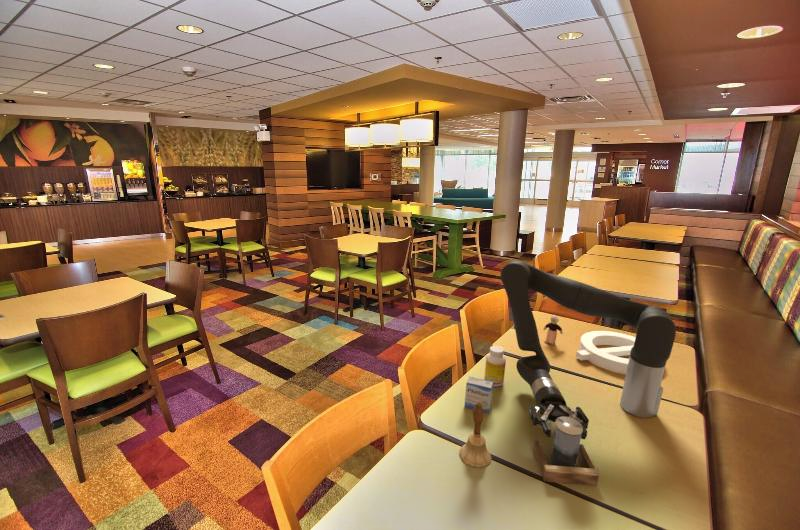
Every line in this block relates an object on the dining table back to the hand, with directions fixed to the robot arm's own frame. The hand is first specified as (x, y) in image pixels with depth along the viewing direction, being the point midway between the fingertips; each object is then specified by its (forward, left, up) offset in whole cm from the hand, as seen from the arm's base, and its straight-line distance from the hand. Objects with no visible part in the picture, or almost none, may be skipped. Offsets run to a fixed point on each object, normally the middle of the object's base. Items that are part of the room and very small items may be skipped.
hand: (567, 435), depth 94 cm
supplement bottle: (+12, -35, -9) cm, 38 cm away
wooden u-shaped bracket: (0, +1, -8) cm, 8 cm away
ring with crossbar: (-40, -59, -9) cm, 72 cm away
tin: (0, +1, -8) cm, 8 cm away
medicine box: (+19, -21, -9) cm, 30 cm away
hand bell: (+22, 0, -9) cm, 24 cm away
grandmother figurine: (-17, -67, -9) cm, 70 cm away
